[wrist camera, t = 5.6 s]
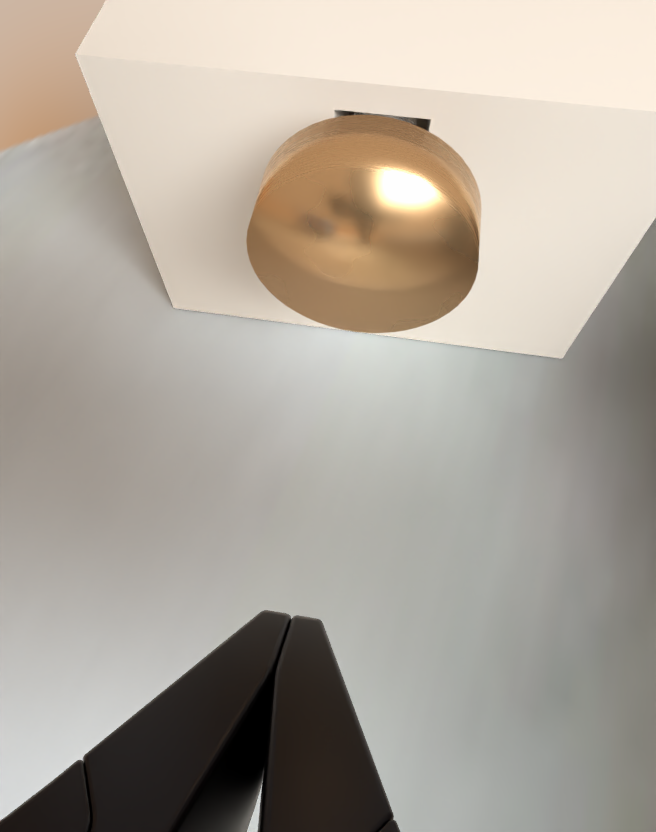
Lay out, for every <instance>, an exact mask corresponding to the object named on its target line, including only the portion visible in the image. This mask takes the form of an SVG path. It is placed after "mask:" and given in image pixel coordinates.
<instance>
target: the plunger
mask: <svg viewBox="0 0 656 832" xmlns="http://www.w3.org/2000/svg"><path fill="white" fill-rule="evenodd" d="M416 123H417V118H412V117H402V116H393V115H383V114H373V113H363V112H354V115H349V116H340V117H335V118H330V119H326V120H323V121H320V122H317V123H315V124H312V125H310V126H308V127H306V128H304V129H302V130H300V131H298V132H297V133H296V134H294V135H293V136H291V137H290V138H288V139H287V140H286V141H285V142H284V143H283V144H282V145H281V146H280V147H279V148H278V149H277V151H276V152H275V153H274V155H273V156H272V157H271V159H270V161H269V163H268V165H267V167H266V169H265V172H264V175H263V179H262V182H261V186H260V189H259V192H258V196H257V199H256V203H255V206H254V209H253V213H252V216H251V220H250V223H249V226H248V230H247V239H246V243H247V252H248V256H249V260H250V263H251V265H252V267H253V270H254V272H255V273H256V275H257V277H258V278H259V280H260V281H261V282H262V284H263V285H264V286H265V287H266V289H267V290H268V291H269V292H270V293H271V294H272V295H273V296H275V297H276V298H277V299H278V300H279V301H281V302H282V303H283V304H284V305H286V306H287V307H289V308H290V309H292V310H294V311H295V312H297V313H299V314H301V315H303V316H305V317H306V318H309V319H311V320H314V321H316V322H318V323H321V324H324V325H327V326H330V327H334V328H339V329H343V330H348V331H354V332H364V333H389V332H398V331H405V330H409V329H413V328H418V327H421V326H423V325H426V324H429V323H431V322H433V321H436V320H438V319H440V318H441V317H443V316H445V315H446V314H448V313H450V312H451V311H452V310H453V309H455V308H456V307H457V306H458V305H459V304H460V303H461V302H462V301H463V300H464V299H465V298H466V296H467V295H468V293H469V292H470V290H471V289H472V286H473V284H474V282H475V280H476V276H477V272H478V262H479V245H480V227H481V206H482V204H481V197H480V192H479V188H478V185H477V182H476V180H475V178H474V176H473V174H472V172H471V170H470V168H469V167H468V166H467V164H466V163H465V161H464V160H463V159H462V157H461V156H460V155H459V154H458V153H457V152H456V151H455V150H454V149H453V148H452V147H451V146H449V145H448V144H447V143H445V142H444V141H443V140H442V139H440V138H439V137H437V136H436V135H434V134H432V133H430V132H429V131H427V130H425V129H423V128H421V127H418V126H416Z"/></svg>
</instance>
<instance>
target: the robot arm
mask: <svg viewBox="0 0 656 832" xmlns="http://www.w3.org/2000/svg"><path fill="white" fill-rule="evenodd" d="M262 781H263V783H262ZM261 785H262V793H261V802H260V813H259V823H258V832H400V830H399V828H398V825H397V823H396V821H395V820H393V817H394V816H393V812H392V810H391V807H390V804H389V801H388V799H387V796H386V793H385V791H384V788H383V785H382V782H381V780H380V777H379V774H378V772H377V769H376V766H375V764H374V761H373V758H372V755H371V753H370V750H369V747H368V745H367V742H366V739H365V736H364V734H363V731H362V728H361V726H360V723H359V720H358V718H357V715H356V712H355V709H354V707H353V704H352V701H351V699H350V696H349V693H348V690H347V688H346V685H345V682H344V680H343V677H342V674H341V672H340V669H339V666H338V663H337V661H336V658H335V655H334V653H333V650H332V647H331V644H330V642H329V639H328V636H327V634H326V631H325V628H324V626H323V623H322V621H321V620H319V619H316V618H310V617H304V616H294V617H293V618H292V619H291V616H290V615H289V614H286V613H280V612H274V611H268V610H264V611H262V612H260V613H259V614H258V615H257V616H255V617H254V618H253V619H252V620H250V621H249V622H248V623H247V624H245V625H244V626H243V627H242V628H240V629H239V630H238V631H237V632H236V633H234V634H233V635H232V636H231V637H229V638H228V639H227V640H226V641H224V642H223V643H222V644H221V645H220V646H218V647H217V648H216V649H215V650H213V651H212V652H211V653H210V654H208V655H207V656H206V657H205V658H204V659H202V660H201V661H200V662H199V663H197V664H196V665H195V666H194V667H192V668H191V669H190V670H189V671H188V672H186V673H185V674H184V675H183V676H181V677H180V678H179V679H178V680H176V681H175V682H174V683H173V684H172V685H170V686H169V687H168V688H167V689H165V690H164V691H163V692H162V693H160V694H159V695H158V696H157V697H156V698H154V699H153V700H152V701H151V702H149V703H148V704H147V705H146V706H144V707H143V708H142V709H141V710H139V711H138V712H137V713H136V714H135V715H133V716H132V717H131V718H130V719H128V720H127V721H126V722H125V723H123V724H122V725H121V726H120V727H119V728H117V729H116V730H115V731H114V732H112V733H111V734H110V735H109V736H107V737H106V738H105V739H104V740H103V741H101V742H100V743H99V744H98V745H96V746H95V747H94V748H93V749H91V750H90V751H89V752H88V753H87V754H85V755H84V757H83V761H82V760H78V761H76V762H75V763H74V764H73V765H71V766H70V767H69V768H68V769H66V770H65V771H64V772H63V773H61V774H60V775H59V776H58V777H57V778H55V779H54V780H53V781H52V782H50V783H49V784H48V785H46V786H45V787H44V788H43V789H41V790H40V791H39V792H37V793H36V794H35V795H33V796H32V797H31V798H30V799H28V800H27V801H26V802H24V803H23V804H22V805H21V806H19V807H18V808H17V809H15V810H14V811H13V812H11V813H10V814H9V815H8V816H6V817H5V818H3V819H2V820H1V821H0V832H247V829H248V826H249V823H250V820H251V817H252V814H253V811H254V808H255V805H256V802H257V798H258V795H259V792H260V789H261Z"/></svg>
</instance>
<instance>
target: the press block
mask: <svg viewBox="0 0 656 832" xmlns="http://www.w3.org/2000/svg"><path fill="white" fill-rule="evenodd" d="M75 56H76V58H77V61H78V63H79V66H80V68H81V71H82V74H83V76H84V79H85V82H86V84H87V87H88V89H89V92H90V94H91V97H92V100H93V102H94V105H95V107H96V110H97V112H98V115H99V118H100V120H101V123H102V125H103V128H104V130H105V133H106V136H107V138H108V141H109V143H110V146H111V148H112V151H113V154H114V156H115V159H116V161H117V164H118V166H119V169H120V172H121V174H122V177H123V179H124V182H125V184H126V187H127V190H128V192H129V195H130V197H131V200H132V202H133V205H134V208H135V210H136V213H137V215H138V218H139V221H140V223H141V226H142V228H143V231H144V233H145V236H146V239H147V241H148V244H149V246H150V249H151V251H152V254H153V257H154V259H155V262H156V264H157V267H158V269H159V272H160V275H161V277H162V280H163V282H164V285H165V287H166V290H167V293H168V295H169V298H170V300H171V303H172V305H173V308H176V309H183V310H191V311H199V312H206V313H214V314H222V315H229V316H237V317H245V318H253V319H260V320H268V321H276V322H283V323H291V324H299V325H306V326H314V327H322V328H329V329H337V330H343V329H339V328H334V327H330V326H327V325H324V324H321V323H318V322H316V321H314V320H311V319H309V318H306V317H305V316H303V315H301V314H299V313H297V312H295V311H294V310H292V309H290V308H289V307H287V306H286V305H284V304H283V303H282V302H281V301H279V300H278V299H277V298H276V297H275V296H273V295H272V294H271V293H270V292H269V291H268V290H267V289H266V287H265V286H264V285H263V284H262V282H261V281H260V280H259V278H258V277H257V275H256V273H255V272H254V270H253V267H252V265H251V263H250V260H249V256H248V252H247V243H246V239H247V230H248V226H249V223H250V220H251V216H252V213H253V209H254V206H255V203H256V199H257V196H258V192H259V189H260V186H261V182H262V179H263V175H264V172H265V169H266V167H267V165H268V163H269V161H270V159H271V157H272V156H273V155H274V153H275V152H276V151H277V149H278V148H279V147H280V146H281V145H282V144H283V143H284V142H285V141H286V140H287V139H288V138H290V137H291V136H293V135H294V134H296V133H297V132H298V131H300V130H302V129H304V128H306V127H308V126H310V125H312V124H315V123H317V122H320V121H323V120H326V119H330V118H335V117H340V116H349V115H354V112H363V113H373V114H383V115H393V116H402V117H412V118H417V123H416V126H418V127H421V128H423V129H425V130H427V131H429V132H430V133H432V134H434V135H436V136H437V137H439V138H440V139H442V140H443V141H444V142H445V143H447V144H448V145H449V146H451V147H452V148H453V149H454V150H455V151H456V152H457V153H458V154H459V155H460V156H461V157H462V159H463V160H464V161H465V163H466V164H467V166H468V167H469V168H470V170H471V172H472V174H473V176H474V178H475V180H476V182H477V185H478V188H479V192H480V197H481V204H482V206H481V227H480V245H479V262H478V272H477V276H476V280H475V282H474V284H473V286H472V289H471V290H470V292H469V293H468V295H467V296H466V298H465V299H464V300H463V301H462V302H461V303H460V304H459V305H458V306H457V307H456V308H455V309H453V310H452V311H451V312H450V313H448V314H446V315H445V316H443V317H441V318H440V319H438V320H436V321H433V322H431V323H429V324H426V325H423V326H421V327H418V328H413V329H409V330H405V331H398V332H389V333H368V334H376V335H383V336H391V337H399V338H406V339H414V340H422V341H429V342H437V343H445V344H452V345H460V346H468V347H475V348H483V349H491V350H498V351H506V352H514V353H522V354H529V355H537V356H545V357H552V358H560V359H562V358H563V356H564V355H565V353H566V352H567V350H568V349H569V347H570V346H571V344H572V343H573V341H574V340H575V338H576V337H577V335H578V334H579V332H580V331H581V329H582V328H583V326H584V325H585V323H586V322H587V320H588V319H589V317H590V316H591V314H592V313H593V311H594V310H595V308H596V307H597V305H598V304H599V302H600V301H601V299H602V298H603V296H604V295H605V293H606V292H607V290H608V288H609V287H610V285H611V284H612V282H613V281H614V279H615V278H616V276H617V275H618V273H619V272H620V270H621V269H622V267H623V266H624V264H625V263H626V261H627V260H628V258H629V257H630V255H631V254H632V252H633V251H634V249H635V248H636V246H637V245H638V243H639V242H640V240H641V239H642V237H643V236H644V234H645V233H646V231H647V230H648V228H649V227H650V225H651V224H652V222H653V221H654V219H655V217H656V0H106V1H105V3H104V4H103V6H102V8H101V10H100V11H99V13H98V15H97V17H96V19H95V20H94V22H93V24H92V25H91V27H90V29H89V31H88V32H87V34H86V36H85V38H84V40H83V41H82V43H81V45H80V47H79V48H78V50H77V52H76V53H75ZM345 331H348V330H345ZM352 332H354V331H352ZM360 333H364V332H360Z"/></svg>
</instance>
